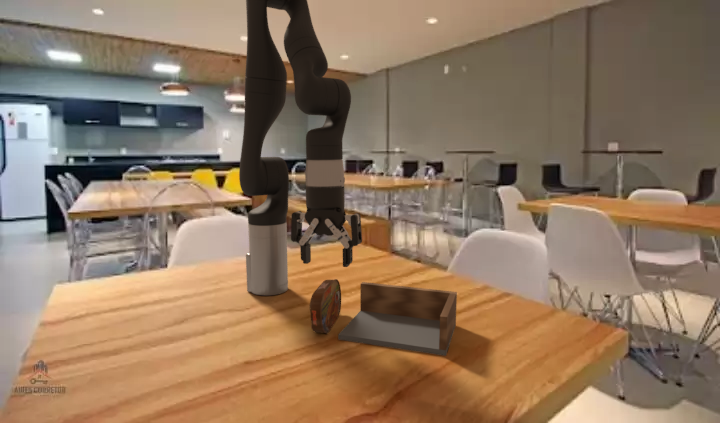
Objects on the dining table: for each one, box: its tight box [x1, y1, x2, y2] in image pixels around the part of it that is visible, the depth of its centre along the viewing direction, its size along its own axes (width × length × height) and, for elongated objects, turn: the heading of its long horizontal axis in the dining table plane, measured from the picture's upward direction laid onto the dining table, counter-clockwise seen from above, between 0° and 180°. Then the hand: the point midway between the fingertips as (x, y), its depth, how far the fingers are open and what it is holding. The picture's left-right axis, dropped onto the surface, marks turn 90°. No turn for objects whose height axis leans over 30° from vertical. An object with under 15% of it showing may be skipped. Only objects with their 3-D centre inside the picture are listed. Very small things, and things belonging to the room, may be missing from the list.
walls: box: [360, 281, 458, 350], centre depth 86 cm, size 20×14×6 cm
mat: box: [337, 310, 457, 357], centre depth 86 cm, size 20×14×1 cm
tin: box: [309, 278, 342, 334], centre depth 90 cm, size 15×3×8 cm, turn 168°
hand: (326, 264), depth 88 cm, fingers open, 8 cm apart
